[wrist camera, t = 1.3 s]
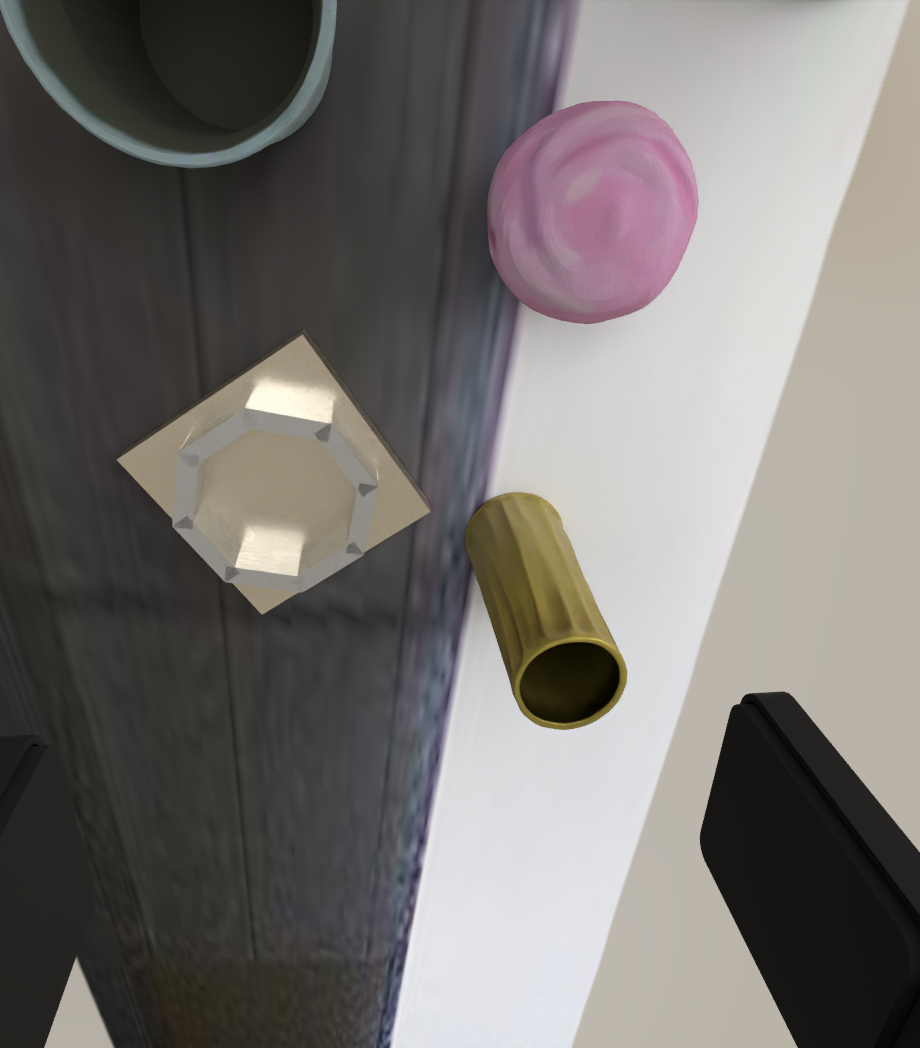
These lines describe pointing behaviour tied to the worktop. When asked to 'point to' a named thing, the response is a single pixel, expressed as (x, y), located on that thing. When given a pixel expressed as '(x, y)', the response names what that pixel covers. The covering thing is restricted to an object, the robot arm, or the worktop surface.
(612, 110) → the cupcake
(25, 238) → the worktop surface
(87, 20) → the blue-green cup
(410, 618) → the worktop surface
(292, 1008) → the worktop surface
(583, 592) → the vase
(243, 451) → the ring stand
